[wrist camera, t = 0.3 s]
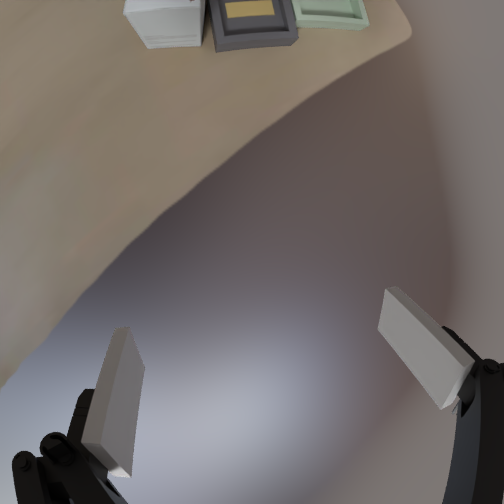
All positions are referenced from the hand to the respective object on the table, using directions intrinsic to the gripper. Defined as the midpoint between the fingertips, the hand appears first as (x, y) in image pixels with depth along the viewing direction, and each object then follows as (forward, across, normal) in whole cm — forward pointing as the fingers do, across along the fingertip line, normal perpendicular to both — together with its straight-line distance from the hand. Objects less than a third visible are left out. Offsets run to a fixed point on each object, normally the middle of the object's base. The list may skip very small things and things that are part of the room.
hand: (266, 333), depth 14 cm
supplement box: (+27, -5, +26) cm, 38 cm away
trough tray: (+27, +16, +31) cm, 44 cm away
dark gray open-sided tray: (+27, +5, +27) cm, 38 cm away
